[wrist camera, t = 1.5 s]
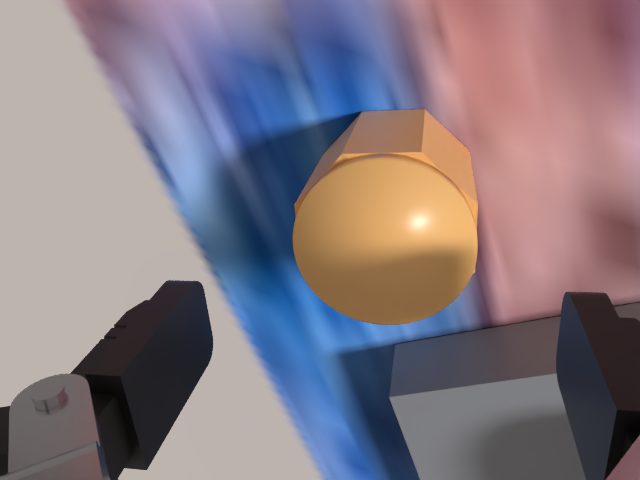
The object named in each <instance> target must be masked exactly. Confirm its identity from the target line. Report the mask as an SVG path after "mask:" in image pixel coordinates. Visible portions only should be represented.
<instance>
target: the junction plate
mask: <svg viewBox="0 0 640 480" xmlns="http://www.w3.org/2000/svg"><path fill="white" fill-rule="evenodd" d="M614 309H615V310H616V312H617V314H618V316H619V317H621V318H636V319H637V320H638V321H640V302H639V303H633V304H627V305H622V306H616V307H614ZM560 319H561V316H558V317H552V318H546V319H540V320H534V321H528V322H523V323H517V324H511V325H505V326H499V327H494V328H488V329H482V330H476V331H470V332H464V333H459V334H453V335H447V336H441V337H435V338H429V339H424V340H418V341H412V342H406V343H400V344H395V348H394V357H393V366H392V376H391V385H390V394H389V398H390V401H391V404H392V406H393V409H394V412H395V414H396V417H397V420H398V422H399V425H400V427H401V430H402V433H403V435H404V438H405V441H406V443H407V446H408V449H409V451H410V454H411V457H412V459H413V462H414V465H415V467H416V470H417V473H418V475H419V478H420V480H586V478H585V474H584V471H583V468H582V464H581V461H580V457H579V454H578V450H577V447H576V444H575V440H574V437H573V433H572V430H571V426H570V423H569V420H568V416H567V413H566V409H565V406H564V402H563V399H562V396H561V392H560V389H559V385H558V381H557V373H556V353H557V344H558V336H559V328H560Z"/></svg>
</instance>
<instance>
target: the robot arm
mask: <svg viewBox="0 0 640 480" xmlns="http://www.w3.org/2000/svg"><path fill="white" fill-rule="evenodd" d="M212 351H213V336H212V330H211V325H210V320H209V314H208V309H207V304H206V298H205V294H204V289H203V286H202V284H201V283H200V282H198V281H170V280H169V281H166V282H165V283H164V284H163V285H162V286H161V288H160V289H159V290H158V291H157V292H156V293H155V294H154V296H153V297H152V298H151V299H150V300H145V301H143V302H142V303H140V304H138V305H137V306H135V307H134V308H132V309H130V310H129V311H127V312H126V313H125V314H124V315H123V316H122V317H121V319H120V320H119V321H118V322H117V323H116V324H115V325H114V328H111V329H110V331H109V332H108V333H107V334H106V335H105V336H104V339H101V340H100V341H99V343H98V344H97V345H96V346H95V347H94V348H93V349H92V351H90V353H89V354H88V355H87V356H86V357H85V358H84V359H83V360H82V361H81V362H80V364H79V365H78V366H77V367H76V368H75V369H74V370H73V371H72V372H71V373H70V374H59V375H54V376H51V377H47V378H44V379H42V380H40V381H38V382H35V383H33V384H32V385H30V386H28V387H27V388H25V389H24V390H23V391H22V392H20V393H19V394H18V395H17V397H15V399H14V400H13V402H12V403H11V406H8V407H1V408H0V480H118V477H119V475H120V474H121V472H122V471H123V469H124V468H130V469H140V470H147V469H148V467H149V465H150V464H151V462H152V460H153V458H154V456H155V455H156V453H157V451H158V450H159V448H160V446H161V445H162V443H163V441H164V440H165V438H166V436H167V434H168V433H169V431H170V429H171V427H172V426H173V424H174V422H175V421H176V419H177V417H178V415H179V414H180V412H181V410H182V409H183V407H184V405H185V403H186V402H187V400H188V398H189V397H190V395H191V393H192V391H193V390H194V388H195V386H196V385H197V383H198V381H199V379H200V377H201V376H202V374H203V373H204V371H205V369H206V367H207V366H208V364H209V362H210V359H211V356H212ZM556 373H557V381H558V385H559V389H560V392H561V396H562V399H563V402H564V406H565V409H566V413H567V416H568V420H569V423H570V426H571V430H572V433H573V437H574V440H575V444H576V447H577V450H578V454H579V457H580V461H581V464H582V468H583V471H584V474H585V478H586V480H640V321H638V320H637V319H636V318H621V317H619V316H618V314H617V312H616V310H615V309H614V307H613V305H612V303H611V301H610V299H609V297H608V295H607V294H606V293H593V292H566V293H565V295H564V298H563V303H562V311H561V319H560V328H559V336H558V344H557V353H556Z"/></svg>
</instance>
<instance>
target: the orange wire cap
mask: <svg viewBox="0 0 640 480" xmlns="http://www.w3.org/2000/svg"><path fill="white" fill-rule="evenodd" d="M294 207H295V216H296V220H295V224H294V229H293V250H294V255H295V259H296V262H297V265H298V268H299V270H300V272H301V274H302V276H303V278H304V280H305V281H306V283H307V284H308V286H309V287H310V288H311V289H312V291H313V292H314V293H315V294H316V295H317V296H318V297H319V298H320V299H321V300H322V301H323V302H325V303H326V304H327V305H329V306H330V307H331V308H333V309H335V310H336V311H338V312H340V313H342V314H344V315H346V316H348V317H350V318H353V319H356V320H359V321H362V322H367V323H372V324H380V325H399V324H407V323H411V322H415V321H419V320H422V319H425V318H427V317H430V316H432V315H434V314H436V313H438V312H439V311H441V310H442V309H444V308H445V307H447V306H448V305H449V304H450V303H452V302H453V301H454V300H455V299H456V298H457V297H458V296H459V294H460V293H461V292H462V291H463V290H464V288H465V287H466V285H467V283H468V282H469V280H470V278H471V275H472V274H473V273H475V264H476V259H477V251H478V244H477V211H478V201H477V195H476V189H475V183H474V176H473V170H472V164H471V158H470V151H469V150H468V149H467V148H466V147H465V146H464V145H463V144H461V143H460V142H459V141H458V140H457V139H456V138H455V137H454V136H453V135H452V134H451V133H450V132H449V131H448V130H447V129H446V128H444V127H443V126H442V125H441V124H440V123H439V122H438V121H437V120H436V119H435V118H434V117H433V116H432V115H431V114H430V113H429V112H428V111H426V110H425V109H414V110H387V111H362V112H361V114H360V115H359V116H358V117H357V118H356V119H355V120H354V121H353V122H352V123H351V124H350V126H349V127H348V128H347V129H346V130H345V131H344V132H343V133H342V134H341V135H340V136H339V138H338V139H337V140H336V141H335V142H334V143H333V144H332V145H331V146H330V147H329V148H328V150H327V151H326V152H325V153H324V154H323V155H322V157H321V159H320V161H319V162H318V164H317V166H316V168H315V169H314V171H313V173H312V175H311V176H310V178H309V180H308V182H307V183H306V185H305V187H304V189H303V190H302V192H301V194H300V196H299V197H298V199H297V201H296V203H295V204H294Z"/></svg>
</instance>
